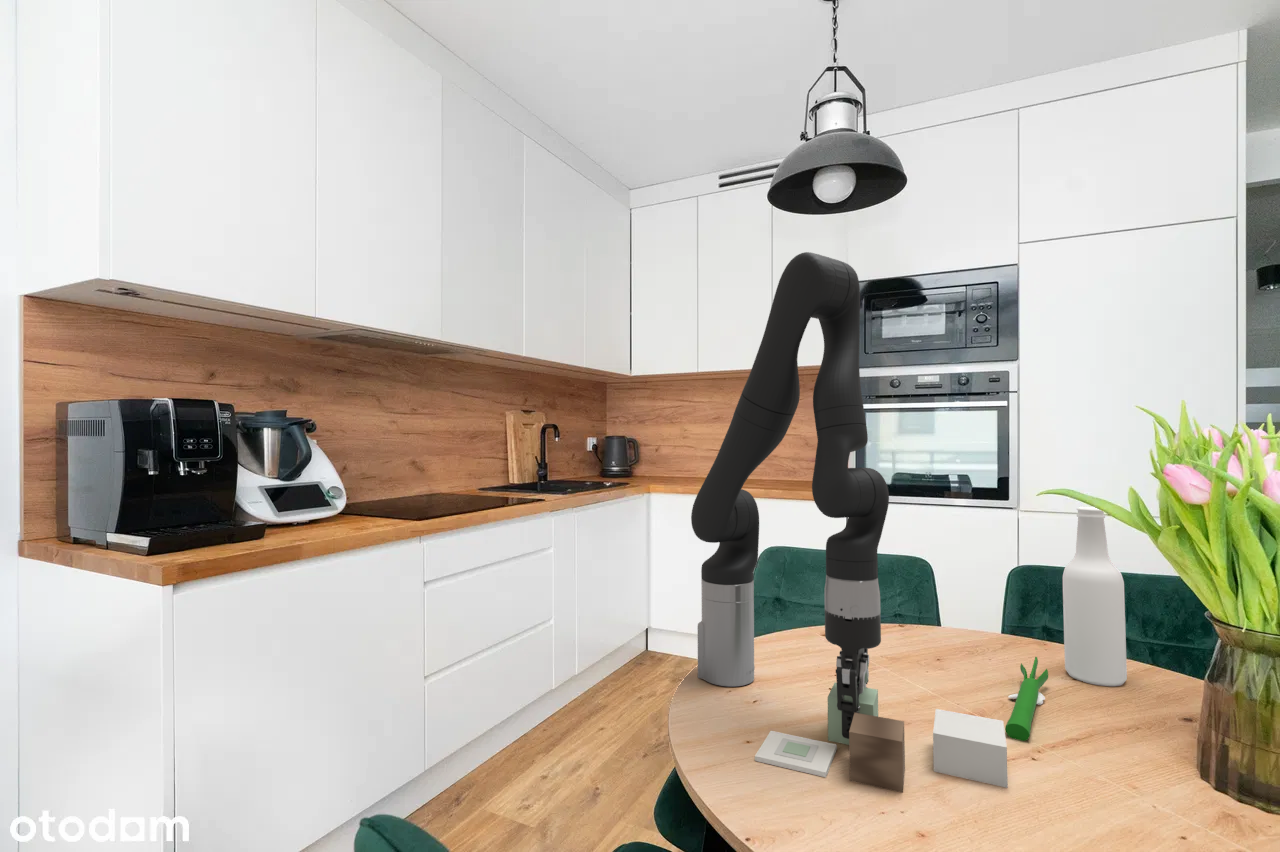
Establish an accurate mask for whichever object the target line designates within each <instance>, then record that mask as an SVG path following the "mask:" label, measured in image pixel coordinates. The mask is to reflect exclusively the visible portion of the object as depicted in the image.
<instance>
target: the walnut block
mask: <svg viewBox="0 0 1280 852" xmlns="http://www.w3.org/2000/svg"><path fill="white" fill-rule="evenodd" d="M848 746H849V749H848V750H849V752H848V753H849V756H848V757H849V781H850V782H851V783H852V782H854V783H858V784H862V785H866V786H870V787H871V786H872V787H875V788H880V789H885V790H890V791H894V792H899V793H904V789H905V788H904V784H905V775H906V774H905V771H906V759H905V757H906V753H905V752H906V751H905V750H906V749H905V747H906V746H905V721H904V720H899V719H893V718H887V717H882V716H878V717H877V716H871V715H866V714H860V713H854V716H853V720H852V723H851V727H850V730H849V745H848Z"/></svg>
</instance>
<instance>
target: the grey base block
mask: <svg viewBox="0 0 1280 852" xmlns="http://www.w3.org/2000/svg"><path fill="white" fill-rule="evenodd" d="M934 713H935V714H934V722H933V730H932V742H933V743H932V745H933V748H932V749H933V751H932V754H933V756H932V757H933V772H934V773H940V774H943V775H948V776H952V777H957V778H961V779H967V780H970V781H971V780H972V781H975V782H980V783H985V784H989V785H993V786H997V787H1002V788H1006V789H1008V787H1009V784H1008V783H1009V781H1008V780H1009V779H1008V746H1007V738H1006V731H1005V724H1004V720H1002V719H995V718H989V717H984V716H977V715H973V714H967V713H961V712H957V711H956V712H955V711H952V710H951V711H950V710H944V709H939V708H935V712H934Z"/></svg>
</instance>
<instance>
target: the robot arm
mask: <svg viewBox="0 0 1280 852" xmlns="http://www.w3.org/2000/svg"><path fill="white" fill-rule="evenodd" d="M860 312H861V290H860V280H859V276H858V273H857V271H856V270H855V269H854V267H852V266H851V265H850V264H849V263H846V262H844V261H841V260H838V259H836V258H832V257H828V256H825V255H822V254H818V253H814V252H809V251H808V252H807V251H806V252H801V253H799V254H797V255H795V256H794V257H793V258H792V259H791V260H790V261H789V262H788V264H787V265H786V266H785V268H784V269H783V272H782V273H781V275H780V278H779V280H778V283H777V287H776V290H775V294H774V296H773V300H772V303H771V307H770V310H769V316H768V319H767V322H766V325H765V328H764V329H765V330H764V333H763V336H762V339H761V342H760V344H759V347H758V349H757V353H756V356H755V358H754V361H753V364H752V367H751V370H750V373H749V374H748V377H747V380H746V382H745V384H744V386H743V389H742V391H741V394H740V396H739V399H738V402H737V404H736V407H735V410H734V412H733V414H732V418H731V421H730V423H729V424H730V425H729V426H728V429H727V431H726V434H725V436H724V438H723V441H722V442H721V443H722V444H721V445H720V448H719V451H718V452H717V455H716V456H715V457H716V458H715V460H714V461H713V463H712V466H711V468H710V470H709V471H708V474H707V475H706V477H705V479H704V481H703V483H702V485H701V487H700V489H699V491H698V493H697V495H696V496H695V499H694V502H693V504H692V509H691V515H690V517H691V518H690V519H691V527H692V530H693V532H694V535H695V536H696V537H697V538H698V539H699V540H700V541H702V542H705V543H711V544H712V543H713V544H715V543H719V545H718V547H717V549H716V551H715V552H714V553H713V554H712V555H711V556H710V557H709V558H707V559H706V560H704V562H703V563H702V564H701V568H700V569H701V571H700V573H701V574H700V575H701V576H700V577H701V580H700V581H701V621H699V622H698V623H697V679H702V680H704V681H706V682H707V683H710V684H712V685H716V686H720V687H741V686H743V687H744V686H745V685H746V686H747V685H748V684H751V683H752V682H754V680H755V610H754V609H755V604H754V603H755V602H754V601H755V600H754V599H755V598H754V597H755V594H754V592H755V591H754V590H755V589H754V588H755V585H754V578H755V577H754V573H755V570H756V566H757V564H758V560H759V545H760V544H759V542H760V541H759V539H760V514H759V507H758V504H757V502H756V499H755V498H754V496H753V495H752V494H751V493H750V492H749V491H747V490H746V489H742V488H743V486H744V484H745V483H746V481H747V479H749V477H750V476H751V474H752V473H753V472H754V471H755V470H756V469H757V468H758V467H759V466H760V465H761V464H762V463H763V462H764V461H765V460H766V459H767V458H768V457H769V456H770V455H771V454H772V453H773V452H774V451H775V450H776V449H777V447H778V446H779V445H780V444H781V442H782V441H783V439H784V437H785V436H786V434H787V432H788V430H789V428H790V425H791V424H792V421H793V419H794V416H795V414H796V412H797V409H798V406H799V403H800V402H799V401H800V397H801V395H800V394H801V391H800V389H801V387H800V377H799V367H798V365H799V364H798V354H799V349H800V346H801V342H802V339H803V337H804V334H805V332H806V328H807V326H808V325H809V323H810V321H811V319H816V320H818V321H819V324H820V328H821V332H822V337H823V354H822V355H823V356H822V359H821V363H820V368H819V370H818V373H817V376H816V379H815V382H814V387H813V392H812V393H813V394H812V405H813V406H812V407H813V414H814V415H813V417H814V422H815V430H816V431H815V432H816V438H817V443H816V444H817V445H816V452H815V458H814V459H815V460H814V467H813V474H812V480H811V481H812V482H811V492H812V498H813V501H814V503H815V505H816V507H817V509H818V510H819V511H820V512H821V514H823V515H824V516H826V517H829V518H830V519H831V518H833V519H842V518H843V519H844V518H847V522H846V525H845V526H844V528H843V529H842V530H841V531H839V532H837V533H834V534H832V535H830V536H829V537H828V538H827V540H826V544H825V574H826V575H825V584H824V638H825V640H827V642H828V643H830V644H831V645H835V646H838V647H839V648H840V649H841V650H840V651H839V655H837V656H836V669H835V674H836V683H837V707H838V710H840V711H842V736H843V737H844V738H847V739H849V730H850V727H851V723H852V720H853V716H854V713H859V710H860V696H861V695H863V694H864V688H865V687H866V688H868V687H867V685H868V683H869V677H870V676H869V673H870V672H869V664H870V654H868V653H869V652H868V651H869V649H874V648H877V647H878V646H879V645H880V644H881V642H882V628H881V627H882V626H881V625H882V623H881V621H882V620H881V618H882V617H881V614H882V613H881V591H880V586H879V576H878V575H879V574H878V573H879V568H878V565H879V564H878V563H879V562H878V556H879V555H878V549H879V543H880V541H881V537H882V534H883V529H884V526H885V521H886V518H887V514H888V509H889V505H890V497H889V496H890V495H889V494H890V493H889V487H888V485H887V482H886V480H885V478H884V477H883V475H882V474H881V473H880V472H879V471H877V470H876V469H874V468H871V467H849V460H850V455H851V453H853V452H856V451H859V450H861V449H864V448H865V446H866V445H867V443H868V440H869V439H868V437H869V436H868V429H867V428H868V427H867V421H866V415H865V408H864V401H863V396H862V388H861V387H862V386H861V377H860V376H861V375H860V373H861V372H860V338H861V337H860V334H861V333H860V332H861V331H860V319H861V318H860V317H861V316H860V315H861V313H860ZM857 686H858V687H857ZM845 695H846V696H851V697H852V699H853V702H848V701H845Z"/></svg>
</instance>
